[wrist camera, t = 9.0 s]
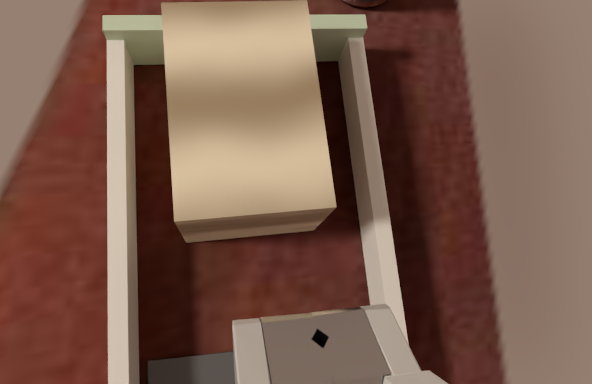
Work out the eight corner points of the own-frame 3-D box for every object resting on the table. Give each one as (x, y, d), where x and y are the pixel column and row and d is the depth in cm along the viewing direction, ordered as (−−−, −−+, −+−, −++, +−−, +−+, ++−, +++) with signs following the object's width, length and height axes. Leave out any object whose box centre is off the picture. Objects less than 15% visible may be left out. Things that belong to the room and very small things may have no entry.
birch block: (313, 231, 31) (336, 207, 24) (186, 243, 29) (174, 221, 23) (291, 63, 34) (307, 0, 27) (175, 68, 32) (161, 2, 26)
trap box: (397, 388, 29) (423, 399, 25) (121, 425, 26) (103, 443, 22) (349, 48, 34) (365, 14, 30) (117, 51, 32) (102, 15, 28)
